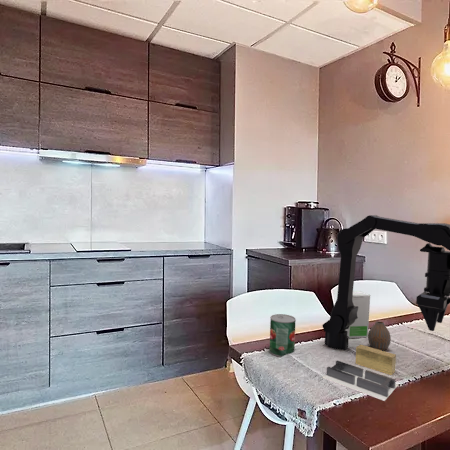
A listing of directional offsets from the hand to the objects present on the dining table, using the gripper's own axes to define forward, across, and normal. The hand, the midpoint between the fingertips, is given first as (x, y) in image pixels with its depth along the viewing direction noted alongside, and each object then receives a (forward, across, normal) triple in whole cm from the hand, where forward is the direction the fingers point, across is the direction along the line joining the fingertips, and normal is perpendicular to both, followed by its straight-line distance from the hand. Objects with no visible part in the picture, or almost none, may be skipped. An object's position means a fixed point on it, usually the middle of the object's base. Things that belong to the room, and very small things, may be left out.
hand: (435, 326), depth 98 cm
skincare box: (+15, +17, +29) cm, 37 cm away
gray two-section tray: (+14, -18, +13) cm, 26 cm away
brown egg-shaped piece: (+15, +11, +18) cm, 26 cm away
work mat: (+15, -18, +13) cm, 27 cm away
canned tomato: (+15, -15, +39) cm, 44 cm away
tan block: (+15, -7, +13) cm, 21 cm away
